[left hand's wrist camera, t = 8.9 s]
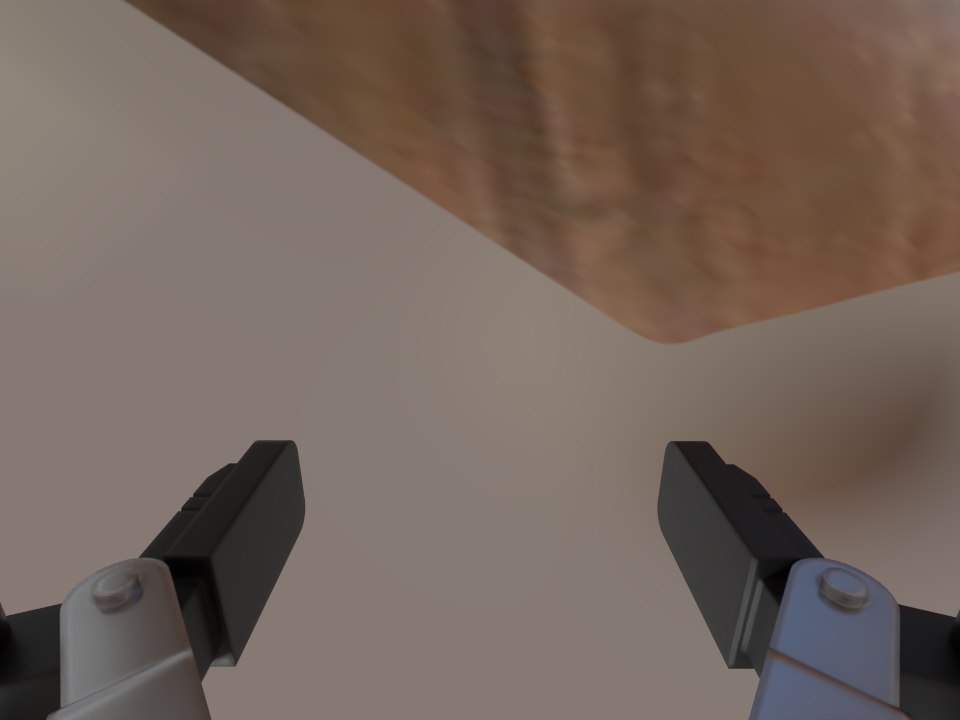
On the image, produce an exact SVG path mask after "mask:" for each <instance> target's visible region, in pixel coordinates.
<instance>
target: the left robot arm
mask: <svg viewBox="0 0 960 720" xmlns="http://www.w3.org/2000/svg"><path fill="white" fill-rule="evenodd" d="M304 516H305V498H304V491H303V485H302V478H301V471H300V464H299V457H298V450H297V446H296V444H295V442H294V441H292V440H258V441H255V442H254V443H253V444H252V445H251V447H250V448H249V449H248V450H247V452H246V453H245V454H244V455H243V457H242V458H241V459H240V460H239V462H238V463H235V464H234V463H230V464H228V465H226V466H225V467H223V468H222V469H220V470H218V471H217V472H215V473H214V474H212V475H211V476H209V477H207V479H206V480H205V481H204V482H203V483H202V484H201V486H200V487H199V488H198V489H197V490H196V491H195V493H194V494H193V497H190V498H189V500H188V501H187V502H186V503H185V504H184V505H183V507H182V510H181V511H178V512H177V514H176V515H175V516H174V517H173V518H172V519H171V521H170V522H169V523H168V524H167V525H166V526H165V528H164V529H163V530H162V531H161V532H160V533H159V535H158V536H157V537H156V538H155V539H154V540H153V542H152V543H151V544H150V545H149V546H148V547H147V549H146V550H145V551H144V552H143V553H142V554H141V556H140V557H139V558H135V559H129V560H125V561H121V562H118V563H115V564H112V565H110V566H107V567H105V568H103V569H101V570H99V571H97V572H95V573H94V574H92V575H90V576H89V577H87V578H86V579H84V580H83V581H82V582H80V583H79V584H78V585H77V586H76V587H75V588H73V590H72V591H71V592H70V593H69V594H68V595H67V597H66V598H65V600H64V601H63V603H62V604H57V605H53V606H49V607H45V608H40V609H35V610H31V611H27V612H22V613H18V614H14V615H9V616H6V615H5V612H4V610H3V608H2V606H1V603H0V720H211V717H210V713H209V710H208V706H207V702H206V699H205V695H204V692H203V688H202V684H201V682H202V680H203V678H204V677H205V675H206V673H207V671H208V669H209V667H235V666H236V664H237V662H238V660H239V658H240V656H241V654H242V652H243V650H244V648H245V646H246V644H247V642H248V639H249V637H250V635H251V633H252V631H253V629H254V627H255V625H256V623H257V621H258V619H259V617H260V615H261V612H262V610H263V608H264V606H265V604H266V602H267V600H268V598H269V596H270V594H271V592H272V590H273V588H274V586H275V584H276V582H277V579H278V577H279V575H280V573H281V571H282V569H283V567H284V565H285V563H286V561H287V559H288V557H289V554H290V553H291V550H292V548H293V546H294V544H295V542H296V540H297V538H298V536H299V534H300V532H301V529H302V526H303V522H304ZM658 519H659V525H660V528H661V531H662V533H663V536H664V537H665V540H666V542H667V544H668V546H669V548H670V550H671V552H672V554H673V556H674V558H675V560H676V562H677V564H678V566H679V568H680V570H681V572H682V574H683V576H684V578H685V581H686V583H687V584H688V587H689V589H690V591H691V593H692V595H693V597H694V599H695V601H696V603H697V605H698V607H699V609H700V611H701V613H702V615H703V617H704V619H705V621H706V623H707V626H708V627H709V629H710V632H711V634H712V636H713V638H714V640H715V642H716V644H717V646H718V648H719V650H720V652H721V654H722V656H723V658H724V660H725V662H726V664H727V666H728V668H729V669H755V670H756V672H757V674H758V676H759V678H760V681H759V684H758V688H757V691H756V695H755V699H754V702H753V706H752V709H751V713H750V717H749V720H960V610H959V612H958V615H957V617H951V616H947V615H943V614H938V613H934V612H930V611H925V610H921V609H916V608H912V607H908V606H904V605H900V604H898V603H897V601H896V600H895V598H894V597H893V595H892V594H891V593H890V592H889V591H888V590H887V588H885V587H884V586H883V585H882V584H881V583H880V582H878V581H877V580H876V579H874V578H873V577H871V576H870V575H868V574H866V573H865V572H863V571H861V570H859V569H857V568H855V567H852V566H850V565H848V564H845V563H842V562H839V561H835V560H831V559H825V558H824V557H823V555H822V554H821V553H820V552H819V551H818V550H817V548H816V547H815V546H814V545H813V544H812V543H811V542H810V540H809V539H808V538H807V537H806V536H805V535H804V533H803V532H802V531H801V530H800V529H799V528H798V527H797V525H796V524H795V523H794V522H793V521H792V520H791V518H790V517H789V516H788V515H787V514H786V513H783V512H782V508H781V507H780V506H779V505H778V503H777V502H776V501H775V500H774V499H773V498H770V494H769V493H768V492H767V491H766V490H765V488H764V487H763V486H762V485H761V484H760V483H759V482H758V480H757V479H756V478H754V477H753V476H751V475H750V474H748V473H746V472H745V471H743V470H742V469H740V468H739V467H737V466H735V465H734V464H725V462H724V461H723V460H722V459H721V457H720V456H719V455H718V454H717V452H716V451H715V450H714V449H713V447H712V446H711V445H710V444H709V443H708V442H706V441H671V442H669V443H668V444H667V447H666V450H665V456H664V463H663V470H662V477H661V483H660V490H659V497H658Z"/></svg>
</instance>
